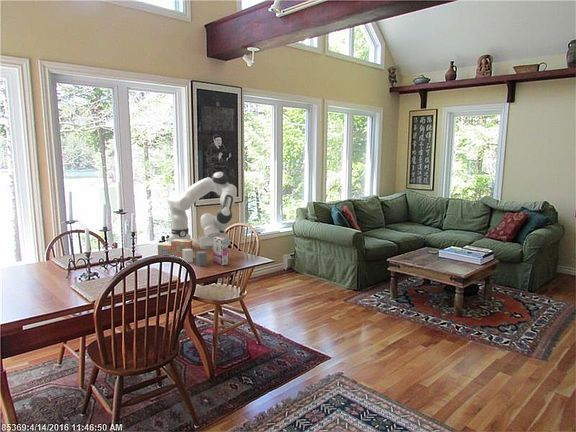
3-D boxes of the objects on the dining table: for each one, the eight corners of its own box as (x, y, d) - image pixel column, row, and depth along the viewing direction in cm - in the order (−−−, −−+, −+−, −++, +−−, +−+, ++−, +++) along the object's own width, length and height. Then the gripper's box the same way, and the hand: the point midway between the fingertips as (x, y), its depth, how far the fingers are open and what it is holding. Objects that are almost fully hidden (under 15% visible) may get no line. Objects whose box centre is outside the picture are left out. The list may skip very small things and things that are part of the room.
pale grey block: (182, 261, 260) (182, 249, 259) (190, 260, 263) (189, 248, 262) (185, 263, 256) (185, 250, 255) (192, 262, 259) (192, 249, 257)
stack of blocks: (157, 258, 266) (157, 240, 264) (161, 256, 272) (161, 238, 270) (189, 260, 264) (189, 241, 262) (192, 257, 270) (192, 239, 268)
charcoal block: (196, 264, 254) (196, 251, 252) (203, 263, 256) (203, 250, 255) (199, 266, 250) (199, 253, 248) (206, 265, 252) (206, 252, 251)
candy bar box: (228, 264, 254) (228, 239, 251) (221, 266, 251) (221, 240, 248) (220, 260, 262) (219, 236, 260) (213, 262, 259) (212, 236, 257)
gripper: (197, 233, 260) (204, 251, 253) (227, 230, 271) (233, 247, 264) (195, 239, 264) (201, 256, 258) (224, 236, 275) (230, 253, 269)
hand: (218, 252), depth 261 cm, fingers closed, pressing on candy bar box
